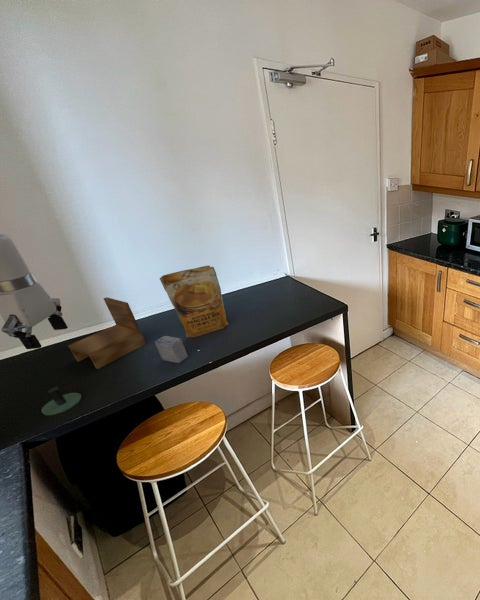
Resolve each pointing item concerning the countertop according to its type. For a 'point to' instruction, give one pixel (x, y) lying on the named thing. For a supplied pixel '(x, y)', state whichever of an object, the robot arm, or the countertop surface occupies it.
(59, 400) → the lid
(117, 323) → the wooden bookend
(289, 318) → the countertop surface
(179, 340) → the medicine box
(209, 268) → the pancake mix bag
